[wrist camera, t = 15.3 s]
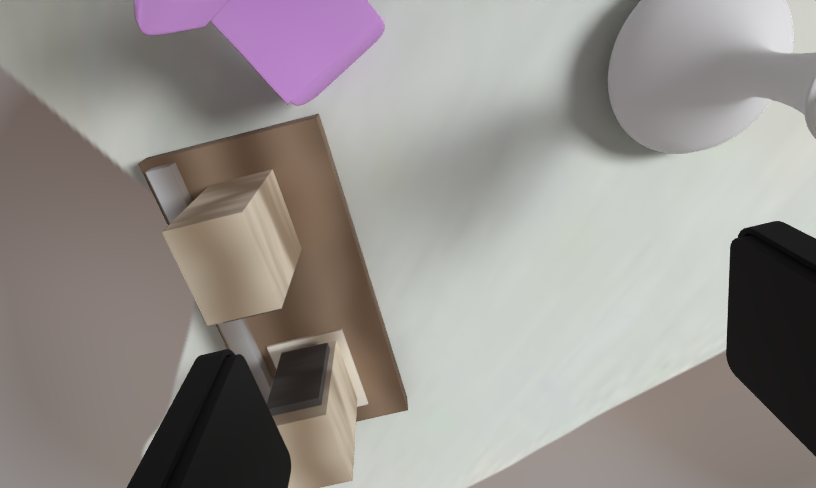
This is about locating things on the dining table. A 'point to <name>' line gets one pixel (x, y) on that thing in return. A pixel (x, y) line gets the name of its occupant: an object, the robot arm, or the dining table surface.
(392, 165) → the dining table surface
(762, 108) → the flower in vase
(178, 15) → the toy chair
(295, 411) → the wooden block
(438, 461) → the dining table surface
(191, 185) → the rail board
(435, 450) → the dining table surface
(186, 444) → the robot arm
